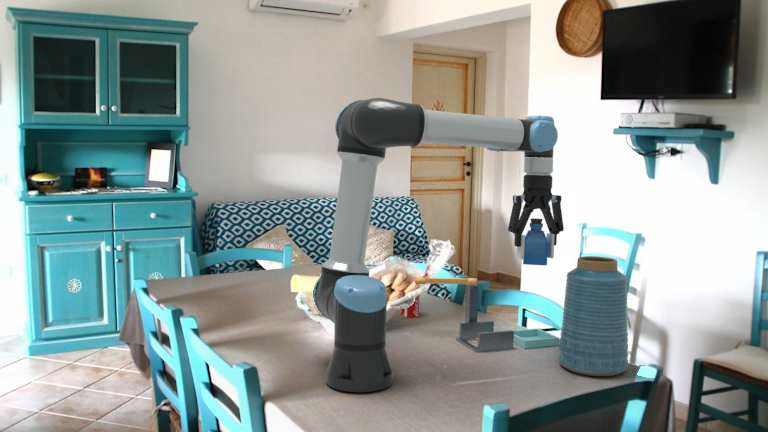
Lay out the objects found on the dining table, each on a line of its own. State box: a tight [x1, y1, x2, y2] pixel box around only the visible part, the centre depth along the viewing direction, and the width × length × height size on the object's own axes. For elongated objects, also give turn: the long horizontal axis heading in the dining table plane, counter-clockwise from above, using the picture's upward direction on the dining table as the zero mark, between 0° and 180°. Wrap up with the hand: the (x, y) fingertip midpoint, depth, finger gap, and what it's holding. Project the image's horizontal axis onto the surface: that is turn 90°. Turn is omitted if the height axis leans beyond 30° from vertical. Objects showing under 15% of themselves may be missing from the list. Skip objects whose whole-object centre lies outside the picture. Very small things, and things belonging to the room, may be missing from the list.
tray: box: [512, 328, 561, 350], centre depth 191 cm, size 11×11×2 cm
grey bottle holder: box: [455, 284, 514, 353], centre depth 190 cm, size 16×11×15 cm
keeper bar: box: [414, 276, 478, 286], centre depth 196 cm, size 17×3×2 cm, turn 90°
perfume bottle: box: [522, 217, 548, 266], centre depth 188 cm, size 6×6×12 cm
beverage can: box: [400, 295, 421, 319], centre depth 216 cm, size 6×6×12 cm
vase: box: [557, 255, 629, 377], centre depth 169 cm, size 16×16×27 cm
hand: (535, 258), depth 189 cm, fingers closed on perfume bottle, 8 cm apart
